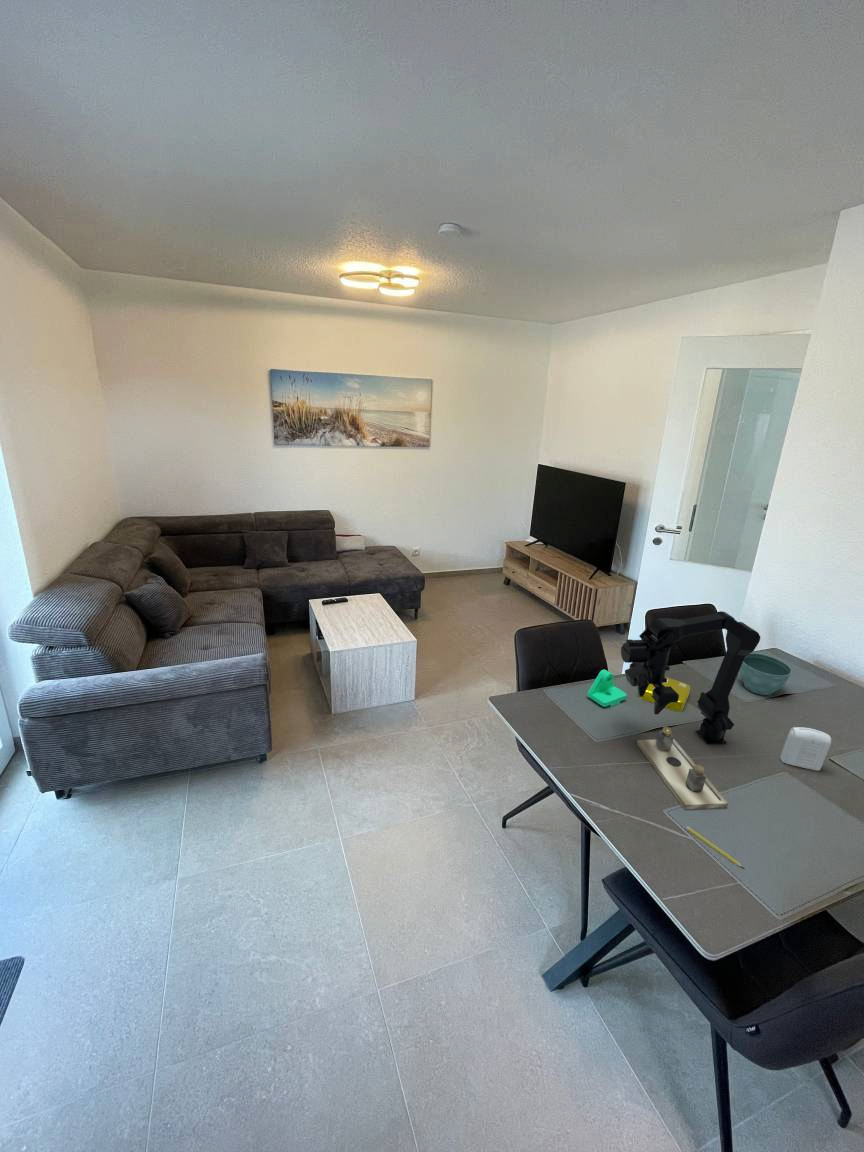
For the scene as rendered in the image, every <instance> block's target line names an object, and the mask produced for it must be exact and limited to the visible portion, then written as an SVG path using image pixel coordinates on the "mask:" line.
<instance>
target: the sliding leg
mask: <svg viewBox="0 0 864 1152" xmlns="http://www.w3.org/2000/svg"><path fill="white" fill-rule="evenodd" d="M672 732H673V730H672V728H671V727H669V726H663V728H662V730H659V731H658V734H657V738H656V740H657V741H656V745H657V746H658V748H659V749H660V750H661V751H670V750H671V746H672V742H673V739H675V736H674V735H673V734H672Z"/></svg>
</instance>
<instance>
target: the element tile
mask: <svg viewBox="0 0 864 1152" xmlns="http://www.w3.org/2000/svg"><path fill="white" fill-rule="evenodd" d="M665 678H666V679H667V682H663V683H662V684H663V685H664V686H665V687H668V686H671V687H672V688H673V689H674V690H675V691H676V692H677V693H678V695H679V699H678V702H670V703H669V704H668V705H667V706H666V707H665V708H666V709H669V710H671V711H675V712H682V711H683V710H684V708H685V705H686V703H687V700H688V698H689V695H690V691H691V685H689V684H688V683H685V682H683V681H679V680H676V679H673V678H670V677H667V676H665ZM653 689H655V687H654V686H653V685H652V684H649V685H648V688H647V690H646V692H645V694H644V696H643V697H640V696H639V692H638V694H637V696H639V697H640V698H639V697H638V698H639V699H640V700H643V699H644V700H643V701H646V700H647V701H646V702H648V701H649V702H650V703H651V702H652V704H654V705H655V700H654V699H653V698H652V696H653V694H652V692H653Z"/></svg>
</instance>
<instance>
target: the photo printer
mask: <svg viewBox="0 0 864 1152" xmlns="http://www.w3.org/2000/svg"><path fill="white" fill-rule="evenodd" d="M831 745H832V738H831V736H830V734H828V733H826V732H823V731H820V730H818V729H814V728H811V727H804V726H803V727H801V726H800V727H799V726H798V727H797V726H794V727H791V728H790V730H789V731H788V735H787V737H786V740H785V742H784V745H783V748H782V751H781V754H780V757H779V758H780V760H781V761H782V762H783V763H785V764H786V765H790V766H794V767H799V768H804V769H808V770H811V771H817V772H818V771H819V772H820V771H821V769H822V767H823V765H824V762H825V759H826V757H827V754H828V753H829V750H830V747H831Z"/></svg>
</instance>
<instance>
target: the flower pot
mask: <svg viewBox="0 0 864 1152" xmlns="http://www.w3.org/2000/svg"><path fill="white" fill-rule="evenodd" d="M792 673H793V671H792V669H791V666H789V665H788V664H787V663H785V662H784V661H782V660H780V659H778V658H775V657H773V656H769V655H766V654H761V653H757V652H754V653H753V652H751V653H750V654H748V655H747V656H745V658H744V660H743V663H742V665H741V668H740V670H739V674H740V676H741V679H742V681H743V685H744V686H743V687H745V688H746V689H747V690H748V691H750V692H752V693H755V694H758V695H761V696H771V695H773V694H774V692H775V691H778V690H779V689H781V688H782V687H783V686H784V685H785V684H786V683H787V682H788V679H789V677H790V676H791V675H792Z"/></svg>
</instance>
